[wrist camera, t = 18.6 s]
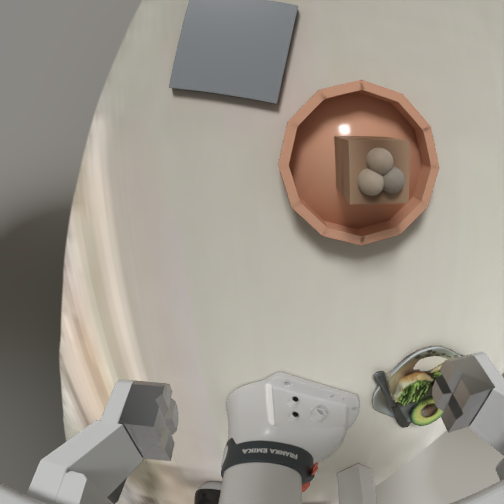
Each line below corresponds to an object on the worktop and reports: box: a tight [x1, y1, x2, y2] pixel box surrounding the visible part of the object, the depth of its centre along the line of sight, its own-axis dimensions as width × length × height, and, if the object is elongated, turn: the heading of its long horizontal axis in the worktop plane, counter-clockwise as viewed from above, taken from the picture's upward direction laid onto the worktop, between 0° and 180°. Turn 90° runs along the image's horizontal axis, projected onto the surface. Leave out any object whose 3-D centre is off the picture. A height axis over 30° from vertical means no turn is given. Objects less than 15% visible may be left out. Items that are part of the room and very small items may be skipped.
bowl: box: [278, 80, 439, 245], centre depth 32 cm, size 17×17×4 cm
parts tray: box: [169, 0, 298, 104], centre depth 30 cm, size 12×12×1 cm
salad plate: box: [373, 346, 463, 427], centre depth 44 cm, size 19×18×5 cm
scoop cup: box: [334, 136, 410, 204], centre depth 29 cm, size 6×6×9 cm
